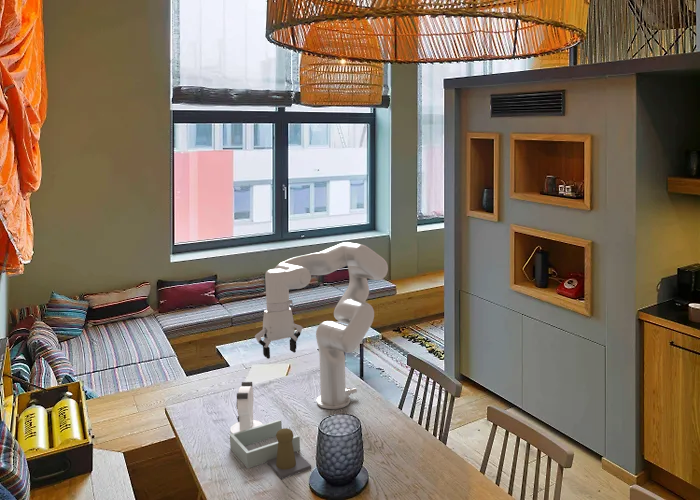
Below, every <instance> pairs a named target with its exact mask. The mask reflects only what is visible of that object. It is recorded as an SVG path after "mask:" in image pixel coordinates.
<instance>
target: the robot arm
mask: <svg viewBox="0 0 700 500" xmlns="http://www.w3.org/2000/svg"><path fill="white" fill-rule="evenodd" d="M345 267H347V269H348V270H347V271H348V276H349V283H348V286H347V287H346V289H345V291H344V293H343V294H342V296H341V298H340V299H339V301H338V302H337V304H336V306H335V308H334V310H333V317H334V318H335V320H336V321H337V322H336V321H333V320H326V321H322V322H320V323H319V325H318V326H317V327H316V332H315V339H316V343H317V347H318V353H319V357H318V358H319V378H320V379H319V380H320V382H319V383H320V395H319V396H318V397H317V398H316V404H317V406H319V407H320V408H323V409H326V410H327V409H328V410H338V409H342V408H345V407H347V406H349V404H350V403H351V398H350V396H351V394H352V395H353V394H356V393H357V392H358V390H357V387H353V388H351V387H349V386H348V387H346V384H347V383H346V357H345V353H346V354H347V353H353V352H354V351H356V349H358V348H359V346H360V344H361V343H362V341H363V340H364V339H365V336H366V334H367V333H368V331H369V329H370V328H371V326H372V324H373V322H374V318H375V310H374V308H373V306H372V305H371V304H370V303H368V302H366V301H367V299H368V297H369V295H370V288H369V283H368V279H370V280H375V281H381V280H384V279H385V278H386V276H387V274H388V272H389V266H388V262H387V261H386V260H385V259H384V258H383V256H381V255H379V254H378V253H377V252H376V251H374V250H373V249H372V248H370V247H368V246H367V245H365V244H362V243H361V244H360V243H356V242H355V243H354V242H349V241H347V242H341V243H338V244H336V245H334V246H330V247H329V248H326V249H324V250H321V251H319V252H313V253H308V254H304V255H298V256H294V257H291V258H288V259H286V260H284V261H281V262H280V263H278V264H277V265H276V266H275V267H274V268H271V269H268V270H266V272H265V275H264V277H265V278H264V281H265V295H266V296H265V298H266V299H265V300H266V309H265V310H264V311H263V317H262V330H260V331H259V332H257V333H256V334H255V335H254V339H255V340H256V342H257V343H258V344H259V345H261V346H262V354H263V356H264V357H265V358H266V359H268V360H269V359H271V349H270V347H269V346H270V344H271V342H275V341H280V340H283V339H287V338H290V339H289V351H291V352H293V353H295V354H296V351H297V341H298V339H299V337H300V336H301V333H302V330H303V328H304V327H303V326H302V325H299V324H296V323H295V321H294V316H293V315H294V314H293V312H292V311H293V310H292V308H291V307H290V305H292V304H294V303H293V300H292V299H291V300H290V293H289V291H290V290H296V289H297V290H299V289H303V288H305V287H307V286H308V285H309V284H310V282H311V280H312V279H311V278H312V276H325V275H329V274H331V273H333V272H335V271H338V270H341V269H343V268H345ZM295 330H296V331H295ZM262 337H263V338H264V339H262Z"/></svg>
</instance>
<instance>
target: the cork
mask: <svg viewBox="0 0 700 500" xmlns="http://www.w3.org/2000/svg"><path fill="white" fill-rule="evenodd" d="M293 437H294V432H293V430H292V429H290V428H287V427H286V428H285V427H284V428H283V427H282V429H280V430H279V431H278V432H277V434H276V436H275V439H276V440H277V441H276V442H278V449H277V460H276V466H277V467H278V468H279V469H290V468H293V467H294V466H295V465H296V460H295V455H294V449H293V444H292V440H293Z"/></svg>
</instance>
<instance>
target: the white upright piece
mask: <svg viewBox="0 0 700 500" xmlns="http://www.w3.org/2000/svg"><path fill="white" fill-rule="evenodd" d="M253 389H254V388H253V381H242V382H241V385H240V387H239V388H238V392H236V410H237V422H236V423H234V424H233V425H231V426H230V428H229V429H230V434H233V433H237V432H240V431H243V430H247V429H250V428H253V427H257V426H260V425H263V424H264V423H262V422H261V421H260V420H255V419H254V390H253Z"/></svg>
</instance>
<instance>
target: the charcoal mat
mask: <svg viewBox="0 0 700 500" xmlns="http://www.w3.org/2000/svg"><path fill="white" fill-rule="evenodd" d="M294 455H295V460H296V465H295V466H294V467H293V468H290V469H279V468H278V467H277V466H276V460H277V458H274V459H271V460H268V461H267V462H266V464H267V465H268V467H270V469H271V470H272V471H273V472H274V473H275V474H276V475H277V476H278V478H280V479H281V480H283V479H285V478H288V477H291V476H293V475H297V474H299V473H302V472H305V471H308V470H311V469H312V465H311V464H310V463H309V461H307V460H306V459H305V458H304V457H303V456H302V455H301V454H300V453H299V452H296V451H295V452H294Z"/></svg>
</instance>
